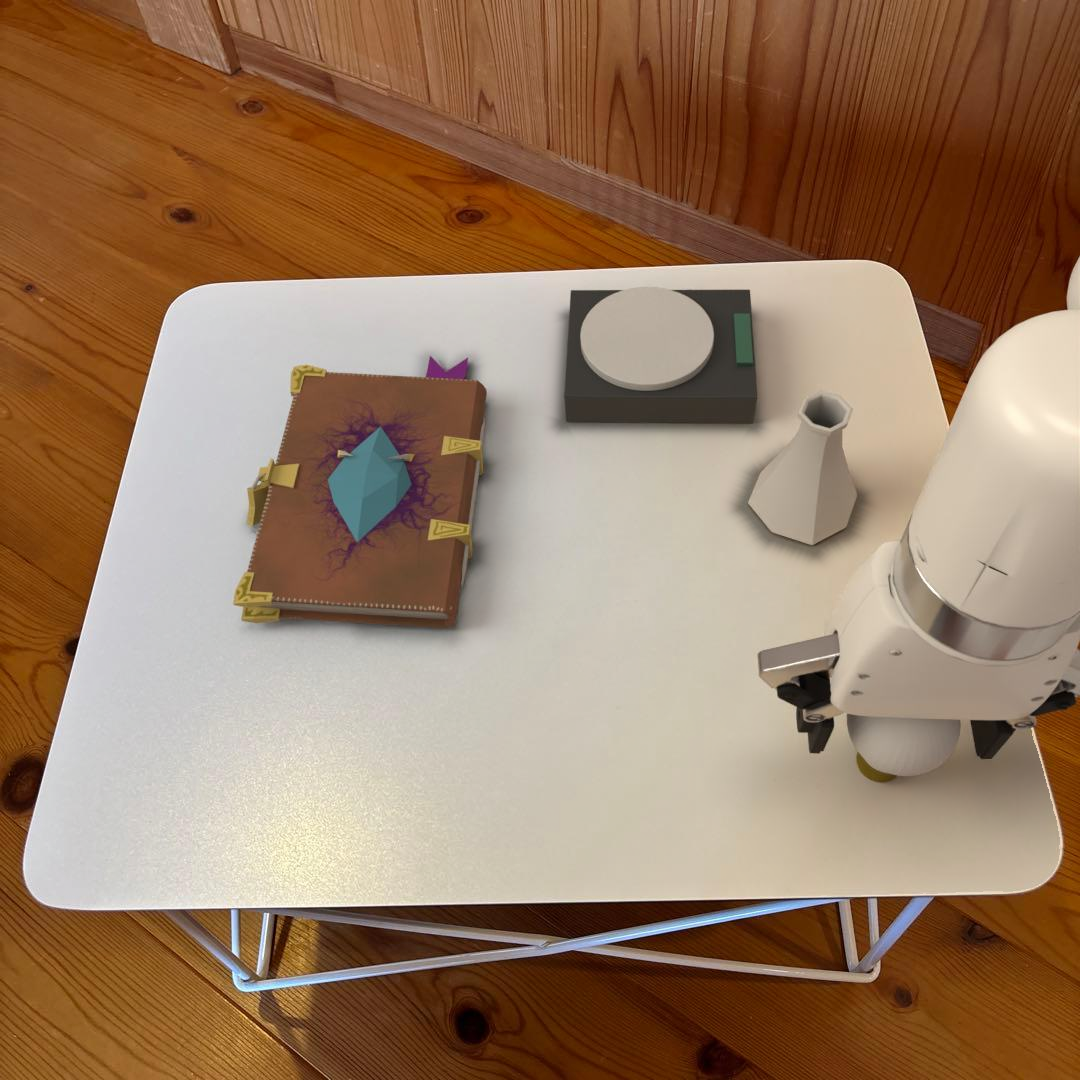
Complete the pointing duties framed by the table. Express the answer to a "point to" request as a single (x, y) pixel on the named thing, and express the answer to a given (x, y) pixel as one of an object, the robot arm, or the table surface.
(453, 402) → the book
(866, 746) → the light bulb
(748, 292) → the scale
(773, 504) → the flask
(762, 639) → the table surface
